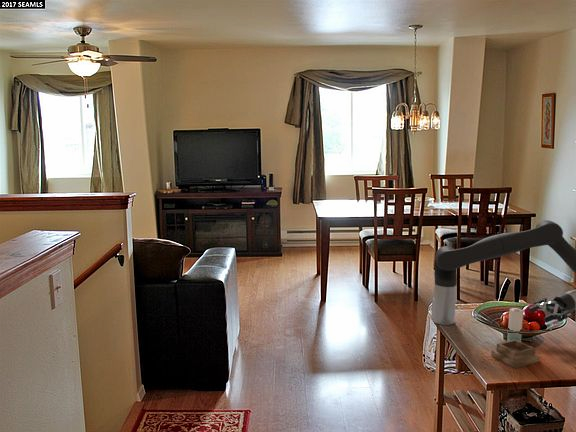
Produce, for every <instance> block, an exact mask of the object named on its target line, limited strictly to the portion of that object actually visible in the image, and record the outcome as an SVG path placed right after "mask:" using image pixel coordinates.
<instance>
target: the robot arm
mask: <svg viewBox="0 0 576 432" xmlns="http://www.w3.org/2000/svg"><path fill="white" fill-rule="evenodd" d="M563 235H564V230H563V228H562V227H561V225H559V224H558V223H557V222H554V221H553V220H552V221H551V220H548V219H546V220H542V221H539V222H538V223H537V224H536V225H535V227H534V228H531V229H528V230H524V231H513V232H512V231H510V232H504V233H498V234H494V235H491V236H488V237H485V238H482V239H480V240H479V241H476V242H474V243H473V244H471V245H468V246H466V247H461V248H456V249H454V248H453V247H452V246H447V245H446V246H445V245H443V246H441V247H439V248H438V249H437V250H436V252H435V254H434V286H433V287H434V289H433V290H434V291H433V298H432V301H431V320H432V321H433V323H435V324H438V325H441V326H451V325H453V324H455V320H456V319H455V318H456V317H455V316H456V301H457V284H458V280H457V279H458V276H457V269H460V268H462V267H464V266H467V265H470V264H474V263H477V262H478V263H479V262H483V261H488V260H491V259H497V258H500V257H504V256H507V255H511V254H515V253H518V252H522V251H524V250H527V249H531V248H536V247H537V248H538V247H543V246H548V247H549V248H551V250H553V251H554V252H555V253H556V254H557V255H558V256H559V257H560V258H561V259H562V261H564V263H565V264H566V266H568V267H569V269H570V270H571V271H573V273H574V274H575V275H576V249H575V248H574V247H573V246H572V245H571V243H569V242H568V241H567V240H566V239H565V238H564V236H563ZM537 310H538V311H543V312H548V313H550V314H548V315H546V316H544V317H543V321H544V323H549V322H551V321H556V320H557V321H558V322H562V321H564V320H567V319H568V318H570V317H571V312H573V311H576V288H574V289H573V290H572V289H571V290H569V291H566V292H564V293H561V294H559V295H557V296H554V298H553V300H548V299H547V297H542V298H540V299H537V300H535V301H533V305H532V306H530V307H528V313H530V314H532V313H531V312H533V311H535V312H537ZM533 313H534V312H533Z"/></svg>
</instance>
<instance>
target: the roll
mask: <svg viewBox="0 0 576 432" xmlns="http://www.w3.org/2000/svg"><path fill="white" fill-rule="evenodd" d="M508 313H509V315H508V325H507V326H508V327H507V329H508V328H509V329H510V330H513V331H520V330H521V329H522V330H523V319H524V318H523V317H524V310H523V309H522V308H517V307H512V308H509V311H508ZM506 337H507V340H506V341H510V340H514V339H516V340H518V341H520V342H522V334H519V333H508V332H507V336H506Z"/></svg>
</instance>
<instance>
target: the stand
mask: <svg viewBox="0 0 576 432" xmlns="http://www.w3.org/2000/svg"><path fill="white" fill-rule="evenodd" d="M490 353H491V354H490V356H491V357H493V358H495V359H496V360H499V361H501V362H503V363H504V364H506V365H509V366H510V367H512V368H514V369H519V368H522V367H526V366H531V365H533V364H536V363H539V362H541V356H539V355H538V354H536V348H535V347H533V346H530V345H528V344H527V343H524V342H522V341H521V342H520V341H518V340H516V339H514V340H510V341H507V340H506V341H503V342H499V343H497V344H496V349H492V350H491V352H490Z"/></svg>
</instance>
